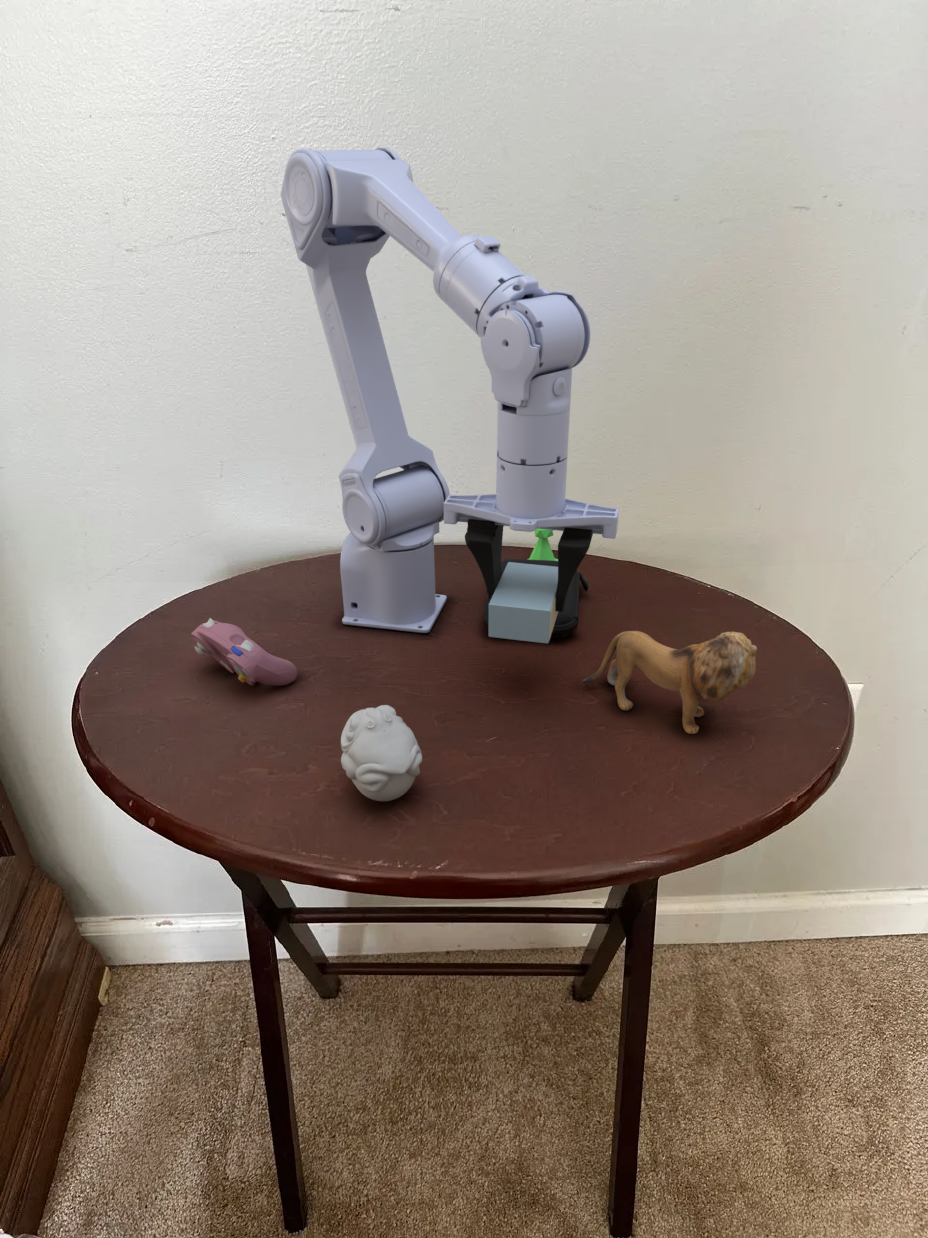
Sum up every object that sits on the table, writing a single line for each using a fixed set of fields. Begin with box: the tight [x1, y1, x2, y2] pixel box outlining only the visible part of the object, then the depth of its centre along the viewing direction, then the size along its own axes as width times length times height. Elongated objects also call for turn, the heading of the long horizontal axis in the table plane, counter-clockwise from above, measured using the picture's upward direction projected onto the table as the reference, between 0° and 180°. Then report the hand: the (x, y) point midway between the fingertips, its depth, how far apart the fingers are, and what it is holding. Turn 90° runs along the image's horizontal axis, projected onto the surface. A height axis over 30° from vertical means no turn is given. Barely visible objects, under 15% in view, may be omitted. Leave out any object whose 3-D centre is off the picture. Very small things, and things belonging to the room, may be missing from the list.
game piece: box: [528, 529, 558, 561], centre depth 99 cm, size 4×4×6 cm
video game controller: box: [190, 617, 298, 687], centre depth 79 cm, size 10×5×7 cm, turn 47°
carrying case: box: [482, 558, 589, 639], centre depth 91 cm, size 11×3×15 cm
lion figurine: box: [581, 630, 758, 735], centre depth 73 cm, size 15×5×9 cm, turn 62°
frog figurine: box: [340, 704, 423, 802], centre depth 64 cm, size 6×7×7 cm
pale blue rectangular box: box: [488, 562, 558, 645], centre depth 75 cm, size 5×8×3 cm, turn 166°
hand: (527, 602), depth 75 cm, fingers closed on pale blue rectangular box, 5 cm apart
